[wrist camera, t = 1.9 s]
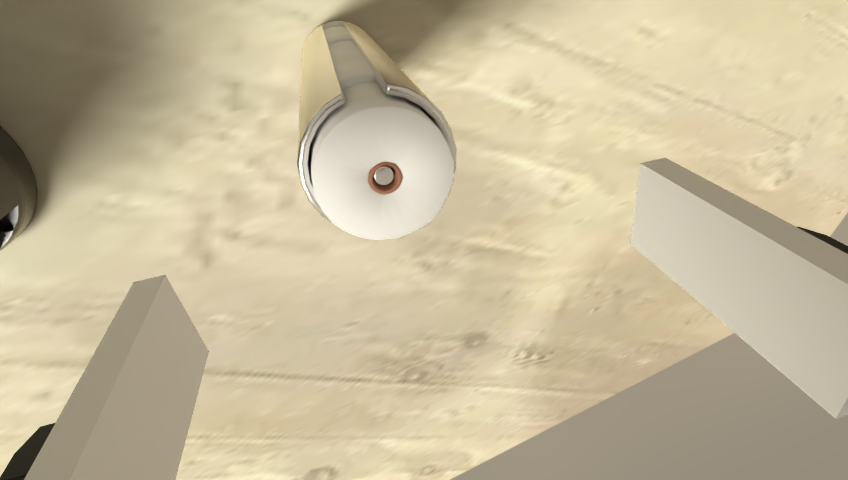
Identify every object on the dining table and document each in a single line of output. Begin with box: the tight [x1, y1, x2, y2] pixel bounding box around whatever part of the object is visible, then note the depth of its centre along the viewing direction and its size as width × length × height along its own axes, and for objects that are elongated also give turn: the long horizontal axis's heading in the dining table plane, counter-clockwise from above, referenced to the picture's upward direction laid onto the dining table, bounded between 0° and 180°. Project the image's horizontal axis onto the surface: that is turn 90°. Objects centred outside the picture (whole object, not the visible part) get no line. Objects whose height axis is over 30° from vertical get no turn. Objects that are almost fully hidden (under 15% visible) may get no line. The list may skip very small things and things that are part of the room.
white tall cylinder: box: [297, 21, 457, 240], centre depth 28 cm, size 6×6×25 cm
